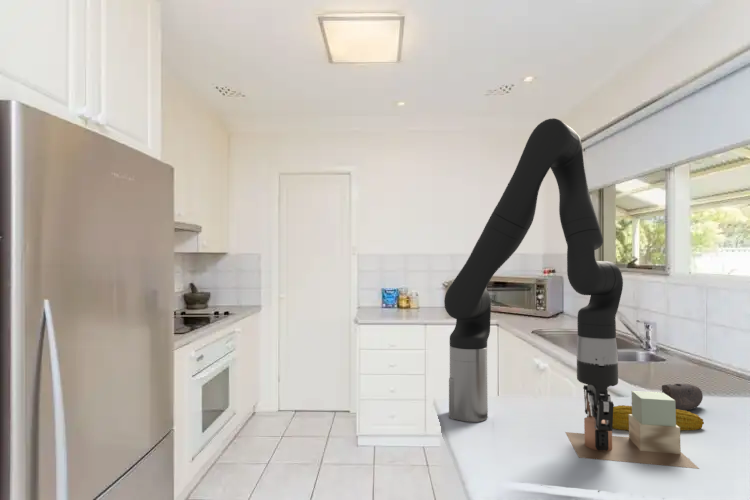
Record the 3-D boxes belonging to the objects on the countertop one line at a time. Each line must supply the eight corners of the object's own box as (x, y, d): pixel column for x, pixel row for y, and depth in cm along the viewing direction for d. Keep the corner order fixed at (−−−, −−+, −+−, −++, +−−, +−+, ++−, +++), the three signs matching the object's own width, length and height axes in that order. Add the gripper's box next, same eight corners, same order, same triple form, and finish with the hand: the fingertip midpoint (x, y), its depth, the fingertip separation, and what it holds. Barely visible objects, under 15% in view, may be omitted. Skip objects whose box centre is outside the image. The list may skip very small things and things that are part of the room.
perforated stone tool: (692, 404, 125) (691, 378, 125) (712, 409, 120) (711, 383, 120) (654, 410, 119) (653, 383, 120) (673, 416, 115) (673, 388, 115)
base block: (640, 450, 89) (639, 424, 89) (629, 437, 96) (628, 413, 96) (680, 454, 88) (679, 427, 88) (666, 441, 94) (665, 416, 95)
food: (615, 436, 100) (615, 409, 100) (602, 428, 106) (602, 402, 106) (710, 436, 100) (709, 409, 101) (691, 428, 106) (691, 402, 106)
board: (579, 462, 86) (578, 457, 86) (565, 436, 99) (565, 432, 99) (699, 474, 81) (699, 468, 81) (668, 445, 95) (667, 440, 95)
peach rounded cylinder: (587, 449, 90) (587, 423, 90) (582, 440, 94) (581, 415, 95) (615, 452, 88) (615, 425, 89) (608, 442, 93) (608, 417, 93)
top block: (641, 424, 90) (641, 398, 90) (632, 414, 96) (631, 390, 96) (676, 426, 88) (675, 400, 89) (663, 417, 94) (663, 392, 95)
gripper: (570, 352, 100) (571, 430, 99) (584, 365, 86) (586, 456, 85) (607, 353, 98) (608, 433, 97) (628, 367, 84) (630, 460, 84)
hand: (598, 444), depth 91 cm, fingers closed on peach rounded cylinder, 5 cm apart
